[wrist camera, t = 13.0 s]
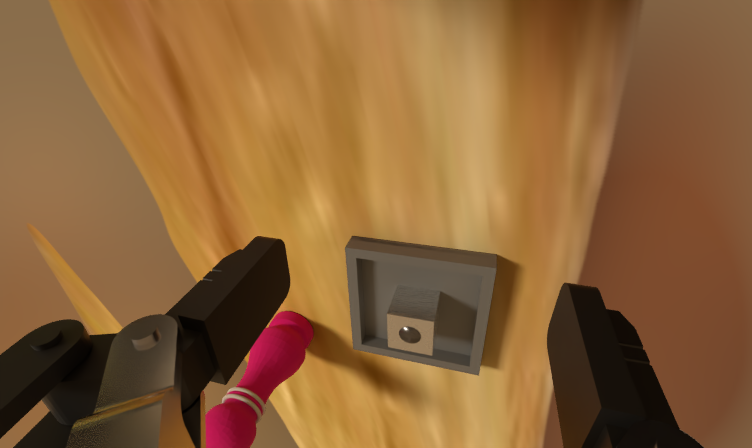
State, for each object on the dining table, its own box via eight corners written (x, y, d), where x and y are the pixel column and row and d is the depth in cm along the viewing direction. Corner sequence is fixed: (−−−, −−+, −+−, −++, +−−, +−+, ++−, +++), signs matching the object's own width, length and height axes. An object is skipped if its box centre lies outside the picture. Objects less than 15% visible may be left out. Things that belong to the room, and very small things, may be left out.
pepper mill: (263, 320, 55) (161, 455, 39) (288, 300, 51) (188, 439, 35) (299, 351, 56) (216, 495, 40) (326, 333, 53) (247, 483, 36)
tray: (359, 335, 51) (353, 349, 49) (352, 235, 43) (345, 247, 41) (479, 359, 47) (478, 375, 45) (496, 254, 39) (496, 268, 37)
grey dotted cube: (397, 316, 46) (387, 347, 42) (397, 284, 44) (386, 314, 39) (438, 323, 45) (432, 355, 41) (440, 291, 42) (434, 322, 38)
